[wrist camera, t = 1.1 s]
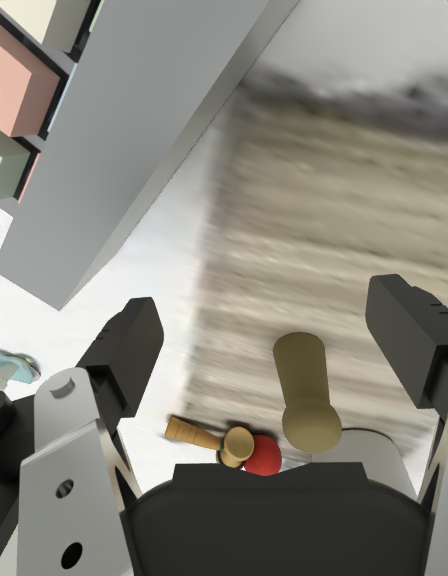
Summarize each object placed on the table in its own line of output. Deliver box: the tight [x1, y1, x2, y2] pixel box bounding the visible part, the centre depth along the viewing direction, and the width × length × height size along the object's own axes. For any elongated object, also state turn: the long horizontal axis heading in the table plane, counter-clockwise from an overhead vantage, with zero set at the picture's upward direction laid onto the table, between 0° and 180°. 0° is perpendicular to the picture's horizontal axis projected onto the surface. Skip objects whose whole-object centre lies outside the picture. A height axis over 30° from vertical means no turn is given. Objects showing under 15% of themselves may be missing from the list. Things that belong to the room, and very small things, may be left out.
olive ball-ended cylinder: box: [273, 332, 342, 453], centre depth 28 cm, size 6×6×11 cm
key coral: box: [0, 25, 64, 137], centre depth 16 cm, size 4×4×4 cm
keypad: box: [0, 0, 299, 311], centre depth 16 cm, size 25×15×10 cm, turn 139°
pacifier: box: [0, 355, 40, 391], centre depth 38 cm, size 7×6×6 cm
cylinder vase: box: [312, 430, 417, 501], centre depth 33 cm, size 12×12×25 cm
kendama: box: [165, 416, 282, 476], centre depth 42 cm, size 8×6×18 cm
